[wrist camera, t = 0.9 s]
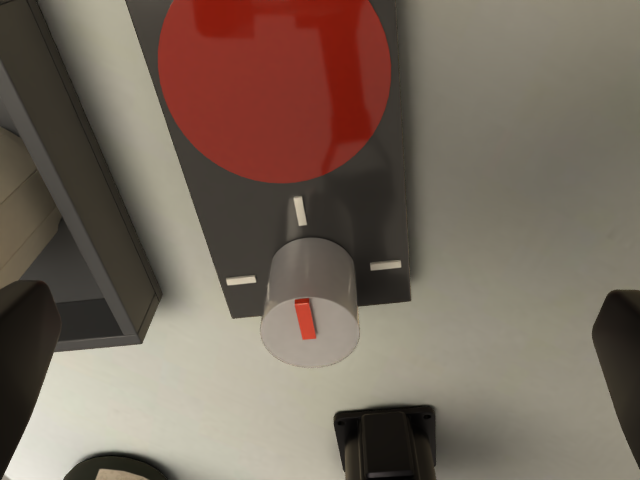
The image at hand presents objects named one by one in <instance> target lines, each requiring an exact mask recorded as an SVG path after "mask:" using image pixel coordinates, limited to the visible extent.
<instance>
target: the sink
mask: <svg viewBox="0 0 640 480" xmlns="http://www.w3.org/2000/svg"><path fill="white" fill-rule="evenodd" d="M0 127H2V128H4V129H6V130H8V131H10V132H12V133H13V134H15V135H16V136H18V137H20V138H21V139H22V140H23V142H24V144H25V146H26V148H27V150H28V152H29V154H30V156H31V158H32V160H33V162H34V164H35V165H36V167H37V169H38V171H39V173H40V175H41V177H42V179H43V181H44V183H45V185H46V187H47V188H48V190H49V192H50V194H51V196H52V198H53V200H54V202H55V204H56V206H57V208H58V210H59V212H60V213H61V215H62V218H61V220H60V222H59V225H58V231H57V233H56V234H55V235H54V236H53V238H52V239H51V240H50V241H49V243H48V244H47V245H46V246H45V248H44V249H43V250H42V251H41V253H40V254H39V255H38V256H37V258H36V259H35V260H34V261H33V263H32V264H31V265H30V266H29V268H28V269H27V270H26V271H25V273H24V274H23V275H22V276H21V278H20V279H19V280H41V281H44V282H45V283H46V284H47V285H48V286H49V288H50V291H51V293H52V296H53V298H54V301H55V304H56V306H57V309H58V311H59V314H60V316H61V322H62V327H61V332H60V336H59V339H58V341H57V344H56V347H55V350H54V352H62V351H73V350H83V349H94V348H105V347H115V346H126V345H137V344H142V343H143V340H144V338H145V336H146V333H147V331H148V328H149V326H150V324H151V321H152V319H153V316H154V314H155V311H156V309H157V307H158V304H159V302H160V300H161V298H162V292H161V290H160V288H159V286H158V283H157V281H156V279H155V276H154V274H153V272H152V269H151V267H150V265H149V262H148V260H147V258H146V255H145V253H144V251H143V248H142V246H141V244H140V241H139V239H138V237H137V234H136V232H135V230H134V227H133V225H132V223H131V220H130V218H129V216H128V213H127V211H126V209H125V206H124V204H123V202H122V199H121V197H120V195H119V192H118V190H117V188H116V185H115V183H114V181H113V178H112V176H111V174H110V172H109V169H108V167H107V165H106V162H105V160H104V158H103V155H102V153H101V151H100V148H99V146H98V144H97V141H96V139H95V137H94V134H93V132H92V130H91V127H90V125H89V123H88V120H87V118H86V116H85V113H84V111H83V109H82V106H81V104H80V102H79V99H78V97H77V95H76V92H75V90H74V88H73V85H72V83H71V81H70V78H69V76H68V74H67V71H66V69H65V67H64V65H63V62H62V60H61V58H60V55H59V53H58V51H57V48H56V46H55V44H54V41H53V39H52V37H51V34H50V32H49V30H48V27H47V25H46V23H45V20H44V18H43V16H42V13H41V11H40V9H39V6H38V4H37V2H36V0H0Z"/></svg>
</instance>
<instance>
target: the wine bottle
mask: <svg viewBox="0 0 640 480" xmlns="http://www.w3.org/2000/svg"><path fill="white" fill-rule="evenodd" d="M63 480H167V479H166V478H165V477H164V476H163V475H162V474H161V473H160V472H159V471H158V470H157V469H155V468H153V467H152V466H150V465H148V464H146V463H144V462H140V461H137V460H134V459H131V458H125V457H116V456H106V457H96V458H92V459H89V460H87V461H84V462H81V463H79V464H77V465H76V466H75V467H74V468H73V469H72V470H71V471H70V472H69V473H68V474H67V475H66V476H65V477H64V479H63Z"/></svg>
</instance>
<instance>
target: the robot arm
mask: <svg viewBox="0 0 640 480" xmlns="http://www.w3.org/2000/svg"><path fill="white" fill-rule="evenodd" d="M61 327H62V322H61V316H60V314H59V311H58V309H57V306H56V304H55V301H54V298H53V296H52V293H51V291H50V288H49V286H48V285H47V284H46V283H45V282H44V281H41V280H17V281H14V282H12V283H10V284H9V285H7V286H5V287H3V288H1V289H0V480H1V479H2V477H3V475H4V473H5V471H6V469H7V467H8V465H9V463H10V460H11V458H12V456H13V454H14V452H15V450H16V448H17V446H18V444H19V442H20V439H21V437H22V435H23V433H24V431H25V429H26V426H27V424H28V422H29V420H30V417H31V415H32V412H33V410H34V407H35V404H36V402H37V399H38V396H39V393H40V390H41V387H42V385H43V382H44V379H45V376H46V373H47V370H48V367H49V364H50V362H51V359H52V356H53V353H54V350H55V347H56V344H57V341H58V339H59V336H60V332H61ZM592 338H593V343H594V346H595V349H596V352H597V356H598V359H599V362H600V365H601V368H602V371H603V374H604V377H605V380H606V383H607V386H608V389H609V392H610V396H611V399H612V402H613V405H614V408H615V411H616V414H617V417H618V419H619V422H620V425H621V428H622V430H623V433H624V435H625V437H626V440H627V442H628V444H629V447H630V449H631V451H632V453H633V456H634V458H635V460H636V462H637V464H638V467H639V469H640V291H639V290H613V291H611V292H610V293H609V294H608V295H607V296H606V298H605V301H604V303H603V305H602V307H601V310H600V312H599V314H598V316H597V319H596V321H595V323H594V326H593V330H592ZM334 428H335V432H336V437H337V442H338V447H339V451H340V456H341V461H342V466H343V470H344V472H345V478H346V480H436V475H435V469H434V467H435V465H436V444H435V414H434V410H433V409H432V408H431V407H415V408H402V409H389V410H376V411H363V412H351V413H339V414H336V415H335V416H334Z"/></svg>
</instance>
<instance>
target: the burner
mask: <svg viewBox="0 0 640 480" xmlns="http://www.w3.org/2000/svg"><path fill="white" fill-rule="evenodd" d="M158 71H159V79H160V84H161V88H162V92H163V95H164V98H165V101H166V103H167V106H168V108H169V111H170V113H171V115H172V116H173V118H174V120H175V122H176V124H177V125H178V127H179V128H180V130H181V131H182V132H183V134H184V135H185V137H186V138H187V139H188V140H189V141H190V142H191V143H192V144H193V145H194V147H195V148H197V149H198V150H199V151H200V152H201V153H202V154H203V155H204V156H206V157H207V158H208V159H210V160H211V161H213V162H214V163H215V164H217V165H219V166H220V167H222V168H224V169H226V170H228V171H229V172H232V173H234V174H237V175H239V176H241V177H245V178H248V179H252V180H255V181H261V182H267V183H295V182H301V181H306V180H310V179H313V178H317V177H320V176H322V175H324V174H327V173H329V172H331V171H333V170H335V169H336V168H338V167H340V166H341V165H343V164H345V163H346V162H347V161H348V160H350V159H351V158H352V157H353V156H355V155H356V154H357V153H358V152H359V151H360V150H361V149H362V148H363V147H364V145H365V144H366V143H367V141H368V140H369V139H370V138H371V136H372V135H373V133H374V131H375V130H376V128H377V126H378V124H379V123H380V120H381V118H382V116H383V113H384V111H385V108H386V104H387V100H388V97H389V91H390V84H391V60H390V52H389V46H388V43H387V39H386V35H385V32H384V29H383V27H382V25H381V22H380V20H379V17H378V15H377V14H376V12H375V10H374V8H373V7H372V5H371V3H370V2H369V0H173V2H172V4H171V5H170V8H169V10H168V12H167V14H166V17H165V19H164V22H163V26H162V29H161V33H160V38H159V46H158Z"/></svg>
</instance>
